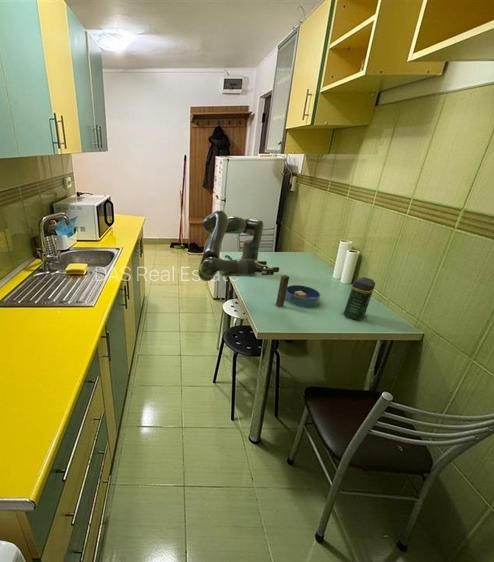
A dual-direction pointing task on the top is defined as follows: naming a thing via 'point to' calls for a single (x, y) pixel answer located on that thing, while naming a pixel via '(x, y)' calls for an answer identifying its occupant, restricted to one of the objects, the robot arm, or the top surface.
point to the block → (300, 294)
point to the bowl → (309, 301)
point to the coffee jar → (359, 298)
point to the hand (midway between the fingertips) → (272, 266)
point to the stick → (282, 290)
